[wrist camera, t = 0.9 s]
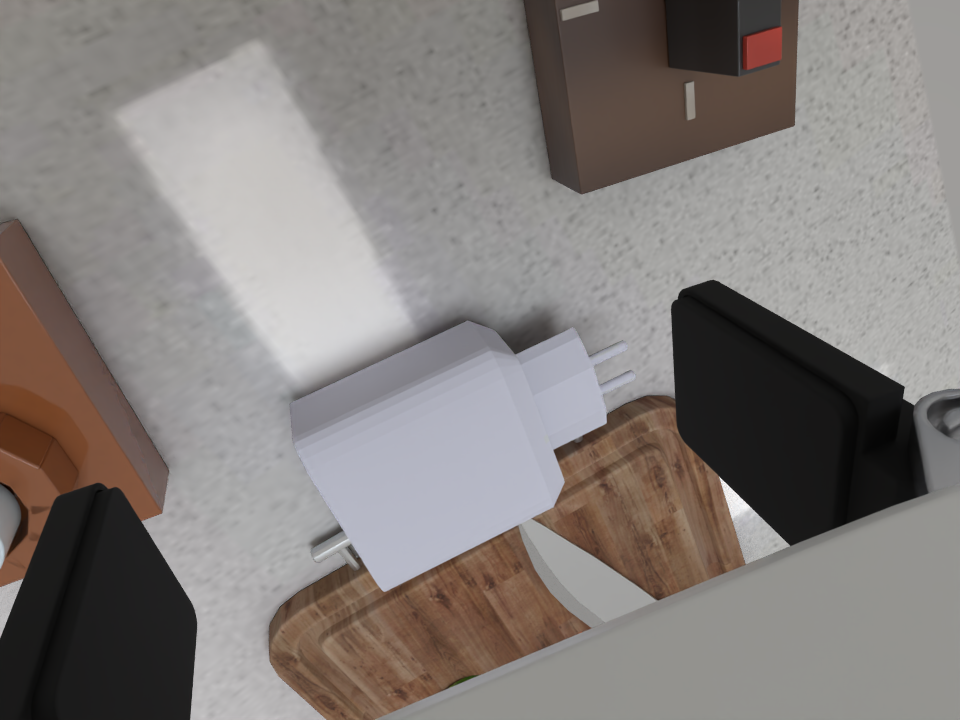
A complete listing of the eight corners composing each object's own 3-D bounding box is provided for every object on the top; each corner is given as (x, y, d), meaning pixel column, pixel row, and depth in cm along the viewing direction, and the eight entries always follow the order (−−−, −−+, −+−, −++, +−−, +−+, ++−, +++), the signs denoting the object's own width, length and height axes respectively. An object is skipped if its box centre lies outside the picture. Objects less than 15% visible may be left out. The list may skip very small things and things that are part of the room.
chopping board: (213, 597, 34) (211, 646, 31) (666, 338, 35) (700, 364, 32) (527, 889, 57) (540, 930, 55) (789, 728, 59) (814, 761, 56)
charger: (627, 411, 36) (372, 537, 34) (583, 258, 31) (287, 396, 30) (675, 457, 32) (386, 602, 30) (631, 289, 27) (291, 450, 26)
